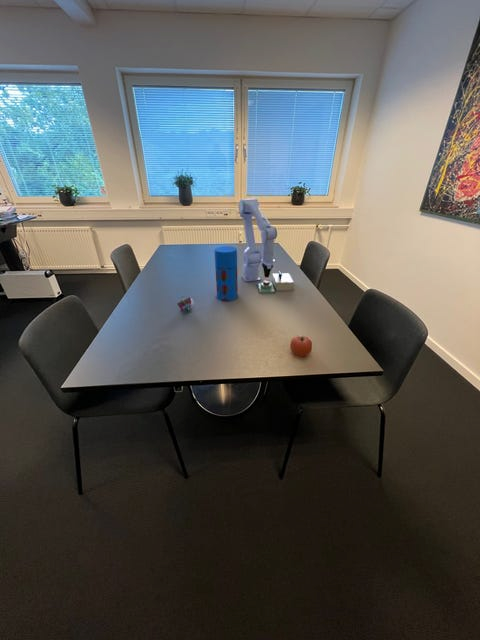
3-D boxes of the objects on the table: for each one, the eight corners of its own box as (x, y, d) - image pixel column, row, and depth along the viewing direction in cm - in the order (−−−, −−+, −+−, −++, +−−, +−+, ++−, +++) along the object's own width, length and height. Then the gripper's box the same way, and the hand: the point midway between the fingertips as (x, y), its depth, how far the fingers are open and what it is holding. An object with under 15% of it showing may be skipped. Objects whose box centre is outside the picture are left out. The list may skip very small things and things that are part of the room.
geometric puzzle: (175, 310, 118) (184, 297, 115) (174, 304, 123) (182, 290, 121) (188, 317, 121) (197, 303, 119) (187, 310, 127) (195, 297, 125)
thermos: (235, 302, 130) (234, 253, 117) (214, 300, 132) (211, 251, 119) (239, 292, 139) (238, 246, 126) (220, 291, 141) (217, 245, 128)
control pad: (260, 293, 138) (260, 288, 137) (257, 285, 148) (258, 280, 146) (274, 292, 139) (275, 287, 137) (271, 284, 148) (272, 279, 147)
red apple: (313, 359, 92) (316, 342, 88) (291, 359, 92) (293, 343, 88) (308, 346, 98) (310, 330, 95) (287, 346, 98) (289, 330, 94)
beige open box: (276, 290, 141) (276, 283, 139) (272, 281, 153) (273, 274, 150) (293, 290, 142) (293, 283, 140) (288, 280, 153) (288, 274, 151)
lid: (276, 283, 139) (276, 277, 137) (272, 274, 150) (272, 268, 148) (293, 283, 140) (294, 276, 138) (288, 274, 151) (289, 267, 149)
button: (263, 285, 141) (263, 282, 140) (263, 283, 143) (263, 280, 142) (269, 285, 141) (269, 282, 140) (268, 283, 143) (268, 280, 142)
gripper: (278, 256, 126) (276, 282, 134) (273, 248, 139) (271, 271, 146) (263, 256, 126) (262, 282, 133) (260, 248, 139) (259, 272, 146)
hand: (266, 276), depth 140 cm, fingers closed
